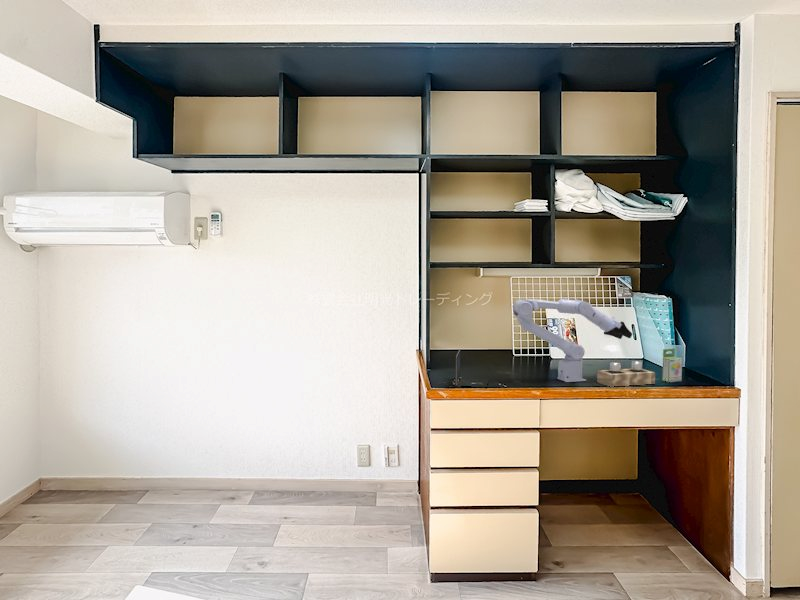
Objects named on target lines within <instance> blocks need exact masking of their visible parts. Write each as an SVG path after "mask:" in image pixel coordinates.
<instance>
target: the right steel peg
mask: <svg viewBox="0 0 800 600" xmlns="http://www.w3.org/2000/svg"><path fill="white" fill-rule="evenodd" d="M631 369H632V371H633V372H642V369H643V362H642V361H640V360H639V361H638V360H632V361H631Z"/></svg>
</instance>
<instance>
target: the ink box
mask: <svg viewBox="0 0 800 600" xmlns="http://www.w3.org/2000/svg"><path fill="white" fill-rule="evenodd" d="M675 350H676V348H664V349H662V351H663V352H662V374H661V376H662V377H661V381H662V382H665V381H666V382H665V383H669V382H670V383H675V382H682V377H683V375H682V372H683V367H682V366H683V365H682V364H683V358H682V357H680V356H675V355H676V354H675V353H676V352H675ZM668 352H671V353H668Z"/></svg>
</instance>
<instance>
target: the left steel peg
mask: <svg viewBox="0 0 800 600" xmlns="http://www.w3.org/2000/svg"><path fill="white" fill-rule="evenodd" d="M620 369H621V362H616V361H612V362H609V370H610V372H611V373H620Z"/></svg>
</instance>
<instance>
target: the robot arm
mask: <svg viewBox="0 0 800 600" xmlns="http://www.w3.org/2000/svg"><path fill="white" fill-rule="evenodd" d="M539 309H546V310H547V309H548V310H549V309H550V310H556V311H557V312H558V313H561V314H570V315H571V314H572V315H575V314H577V315H581V316H582V317H584V318H586V319H587V321H589V322H590V323H592V324H593V325H595V326H596V327H598V328H599V329H600V330H602V331H603V335H604V336H605V335H606V336H607V335H608V336H612V337H614V338H616V339H619V340H620V339H622V338H623V336H624V337H625V338H628V339H631V338H632V337H633V333H632V331H630V329H629V328H628V327H627V326H626V324H625V322H624V321H620V322H619V321H616V320H615V319H616V317H615V316H612V317H610V316H608V315H607V314H605V313H603V312H602V311H600V310H599V309H597V308H595V307H594V306H592V304H591V303H590V302H588V301H584V300H580V299H568V298H567V297H563V298H561V299H558V301H555V300H554V301H551V300H545V299H536V298H535V299H534V298H530V299H529V298H527V299H517V300H515V301H514V302H513V305H512V311H513V312H512V313H513V314H514V317H515V318H516V320H517V321H518V324H519V325H520V327H521V328H522V329H523V330H525V331H526V332H529V334H532V335H534V336H536V337H537V338H539V339H541V340H543V341H544V342H547V343H548V344H550V345H552V346H554V347H556V348H557V349H559V350H561V351H562V352H563V353H564V359H560V360H559V361H558V365H557V366H558V368H557V378H556V379H558V380H559V381H563V382H565V383H572V382H573V383H574V382H575V383H577V382H587V379H586V378H583V357H584V356H585V354H586V353H585V349H584V347H583V346H582V345H581V344H578V343H576V342H573V341H568V340H567V339H564V338H563V337H562V336H559V335H557V334H555V333H553V332H552V331H550V330H548V329H546V328H545V327H543V326H541V325H539V324H538V323H536V322H534V320H533V312H536V311H537V310H539Z"/></svg>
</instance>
